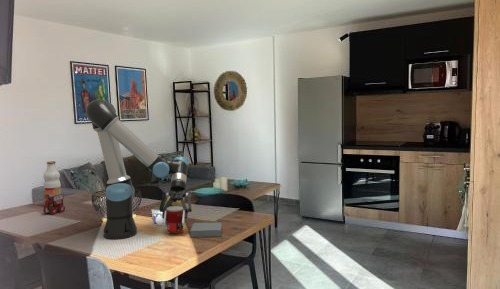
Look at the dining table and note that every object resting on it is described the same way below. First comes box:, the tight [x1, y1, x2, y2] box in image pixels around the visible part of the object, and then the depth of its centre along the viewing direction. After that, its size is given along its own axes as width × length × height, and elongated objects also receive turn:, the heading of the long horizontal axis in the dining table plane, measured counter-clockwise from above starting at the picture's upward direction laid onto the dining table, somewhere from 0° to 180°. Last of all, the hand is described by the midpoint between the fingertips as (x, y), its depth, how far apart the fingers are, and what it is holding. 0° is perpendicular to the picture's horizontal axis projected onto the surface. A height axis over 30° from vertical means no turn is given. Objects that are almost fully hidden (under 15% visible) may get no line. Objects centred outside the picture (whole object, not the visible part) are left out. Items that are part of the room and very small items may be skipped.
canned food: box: [166, 206, 184, 234], centre depth 174 cm, size 8×8×11 cm
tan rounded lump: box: [165, 195, 185, 207], centre depth 220 cm, size 10×12×11 cm
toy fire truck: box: [42, 193, 66, 215], centre depth 214 cm, size 7×12×10 cm, turn 155°
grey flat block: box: [190, 222, 223, 238], centre depth 175 cm, size 14×12×3 cm
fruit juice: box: [43, 161, 62, 203], centre depth 231 cm, size 9×9×28 cm
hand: (173, 224), depth 171 cm, fingers closed on canned food, 8 cm apart
